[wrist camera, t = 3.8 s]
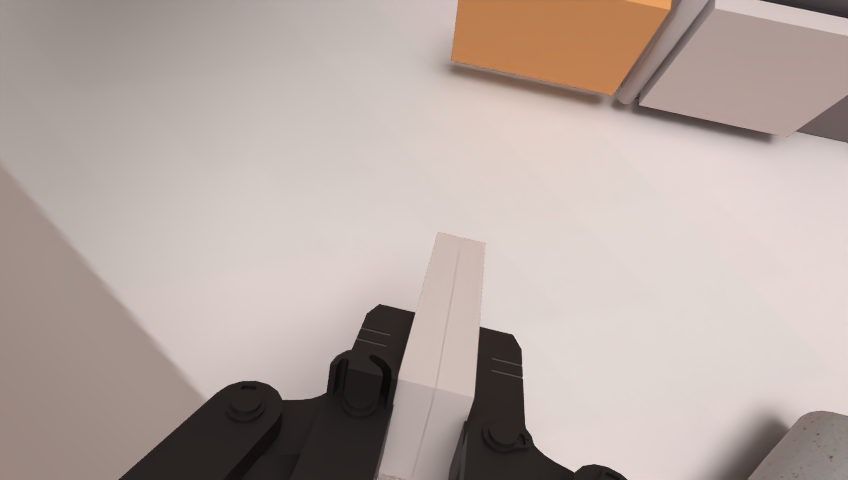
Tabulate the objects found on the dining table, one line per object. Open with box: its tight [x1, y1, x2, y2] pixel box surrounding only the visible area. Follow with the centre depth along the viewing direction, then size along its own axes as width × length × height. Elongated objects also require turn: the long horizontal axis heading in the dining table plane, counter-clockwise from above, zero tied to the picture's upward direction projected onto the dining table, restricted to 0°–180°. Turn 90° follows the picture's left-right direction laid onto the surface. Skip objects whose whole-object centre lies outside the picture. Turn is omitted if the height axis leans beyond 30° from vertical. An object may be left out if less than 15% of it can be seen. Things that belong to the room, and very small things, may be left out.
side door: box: [451, 0, 848, 137], centre depth 27 cm, size 21×1×8 cm, turn 77°
